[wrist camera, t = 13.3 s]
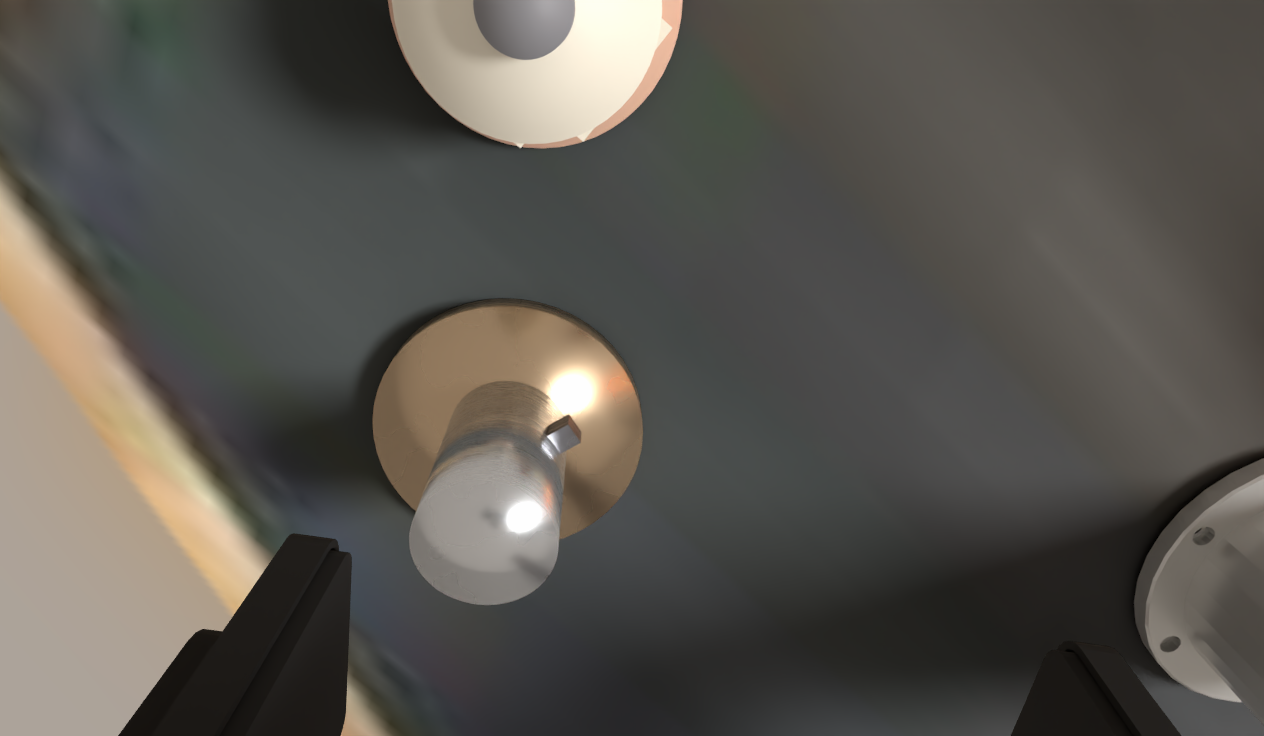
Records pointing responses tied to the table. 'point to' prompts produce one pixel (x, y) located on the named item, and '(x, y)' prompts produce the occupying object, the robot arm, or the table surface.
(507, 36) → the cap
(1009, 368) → the table surface
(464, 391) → the beige piece
